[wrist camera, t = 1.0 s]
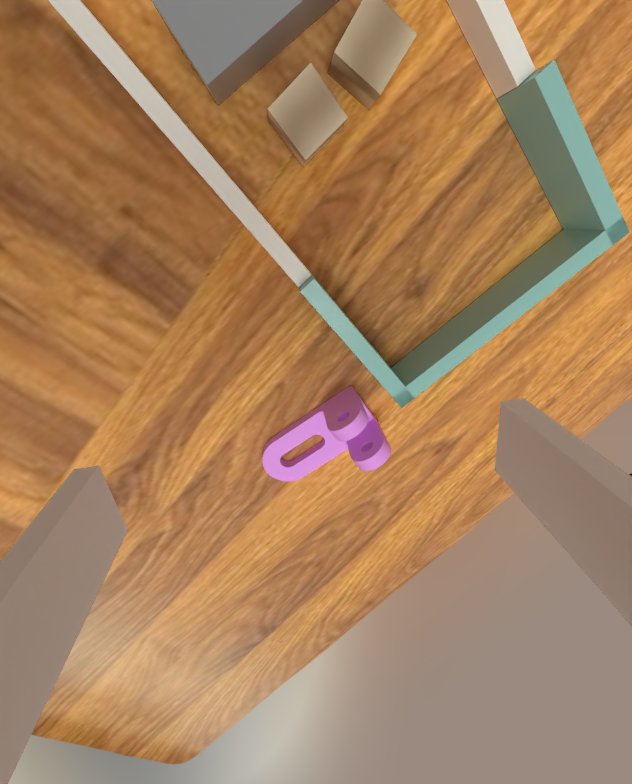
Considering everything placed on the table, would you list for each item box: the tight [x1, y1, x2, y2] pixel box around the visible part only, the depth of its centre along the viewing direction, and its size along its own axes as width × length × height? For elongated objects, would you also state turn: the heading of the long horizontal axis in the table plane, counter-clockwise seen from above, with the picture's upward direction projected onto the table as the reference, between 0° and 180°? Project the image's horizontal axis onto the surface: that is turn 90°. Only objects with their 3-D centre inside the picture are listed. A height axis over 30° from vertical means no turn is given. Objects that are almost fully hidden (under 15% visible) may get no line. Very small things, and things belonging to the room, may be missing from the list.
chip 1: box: [267, 63, 348, 167], centre depth 28 cm, size 4×4×4 cm
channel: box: [48, 0, 536, 287], centre depth 27 cm, size 24×23×3 cm
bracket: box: [263, 385, 391, 481], centre depth 39 cm, size 13×6×7 cm, turn 125°
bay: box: [299, 60, 629, 408], centre depth 33 cm, size 14×23×5 cm, turn 131°
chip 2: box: [328, 0, 417, 110], centre depth 27 cm, size 4×4×4 cm
